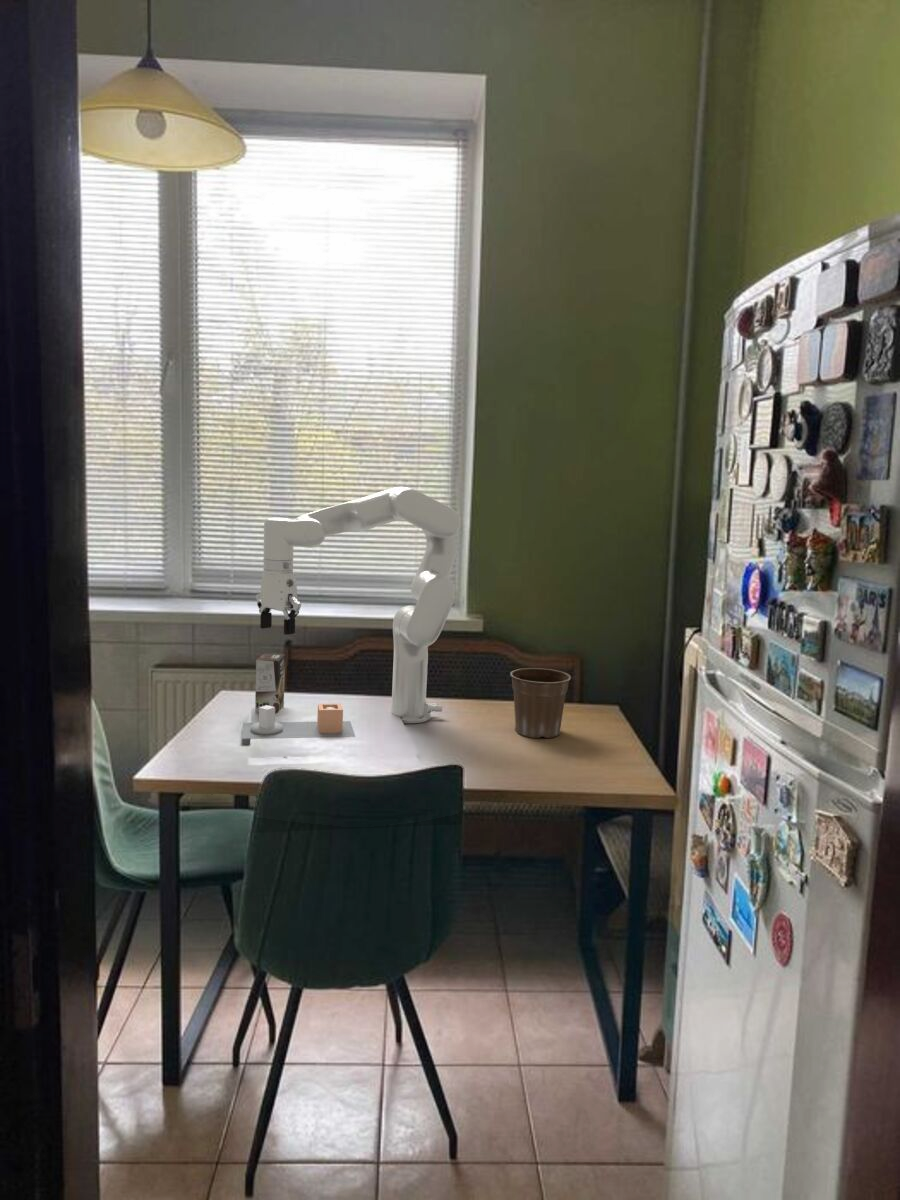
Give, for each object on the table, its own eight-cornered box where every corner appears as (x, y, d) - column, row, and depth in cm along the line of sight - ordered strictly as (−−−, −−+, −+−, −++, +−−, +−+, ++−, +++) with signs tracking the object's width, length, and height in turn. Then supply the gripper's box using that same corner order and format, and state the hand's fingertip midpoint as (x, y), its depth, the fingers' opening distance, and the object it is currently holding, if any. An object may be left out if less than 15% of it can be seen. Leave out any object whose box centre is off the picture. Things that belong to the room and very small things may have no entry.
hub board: (350, 726, 233) (351, 699, 232) (355, 742, 221) (356, 713, 220) (242, 728, 227) (243, 700, 226) (242, 744, 215) (242, 715, 214)
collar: (340, 725, 229) (340, 703, 228) (342, 732, 223) (343, 709, 222) (317, 725, 228) (317, 703, 227) (318, 732, 222) (319, 710, 221)
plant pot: (497, 733, 234) (500, 675, 231) (520, 719, 248) (524, 664, 245) (553, 745, 226) (558, 685, 224) (574, 730, 240) (579, 673, 238)
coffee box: (277, 718, 237) (278, 660, 235) (254, 717, 238) (255, 659, 235) (284, 709, 246) (285, 653, 244) (262, 707, 247) (263, 652, 244)
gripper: (311, 568, 222) (310, 634, 224) (269, 561, 233) (268, 624, 236) (288, 570, 216) (287, 638, 219) (246, 563, 227) (245, 627, 230)
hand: (277, 630), depth 227 cm, fingers open, 9 cm apart
